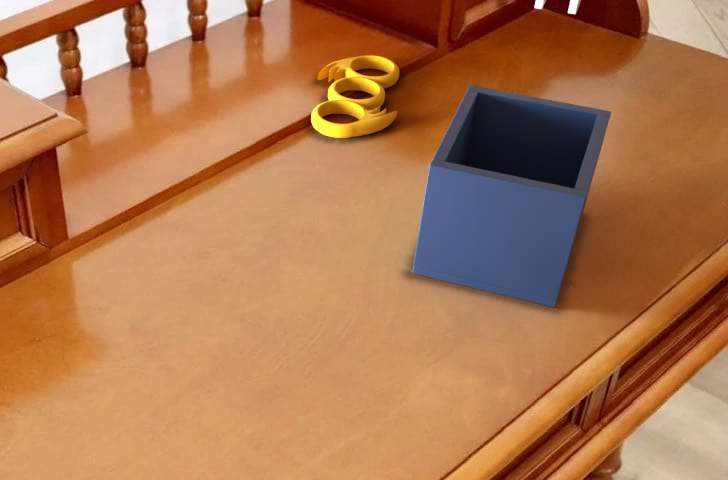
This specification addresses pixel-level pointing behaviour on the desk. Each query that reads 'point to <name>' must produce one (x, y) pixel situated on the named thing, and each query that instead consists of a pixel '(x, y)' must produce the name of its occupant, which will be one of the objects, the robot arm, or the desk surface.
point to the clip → (572, 7)
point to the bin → (509, 193)
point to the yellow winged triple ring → (358, 108)
